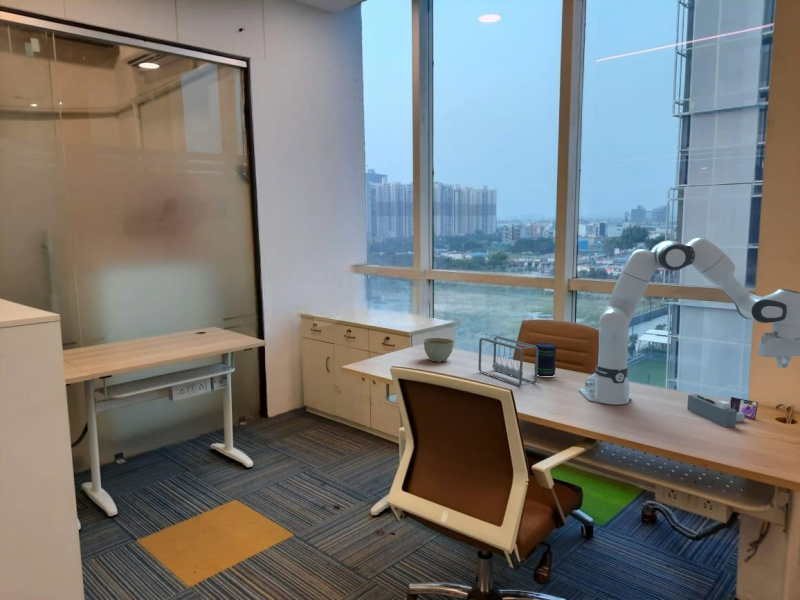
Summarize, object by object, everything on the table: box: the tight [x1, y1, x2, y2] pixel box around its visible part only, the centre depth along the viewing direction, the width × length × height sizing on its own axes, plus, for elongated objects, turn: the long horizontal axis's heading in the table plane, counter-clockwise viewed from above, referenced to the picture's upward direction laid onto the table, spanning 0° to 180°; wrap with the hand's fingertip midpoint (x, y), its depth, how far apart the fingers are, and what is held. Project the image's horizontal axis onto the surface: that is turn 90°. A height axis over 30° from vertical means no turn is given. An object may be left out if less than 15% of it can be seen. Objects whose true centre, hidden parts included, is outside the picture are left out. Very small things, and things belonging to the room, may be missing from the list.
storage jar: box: [533, 342, 557, 376], centre depth 264 cm, size 10×10×15 cm
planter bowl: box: [423, 337, 455, 363], centre depth 292 cm, size 16×16×11 cm
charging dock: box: [686, 394, 745, 428], centre depth 206 cm, size 20×12×8 cm, turn 10°
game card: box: [729, 396, 759, 421], centre depth 209 cm, size 7×5×9 cm
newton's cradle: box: [478, 335, 538, 387], centre depth 258 cm, size 30×10×18 cm, turn 31°
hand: (782, 367), depth 209 cm, fingers closed
